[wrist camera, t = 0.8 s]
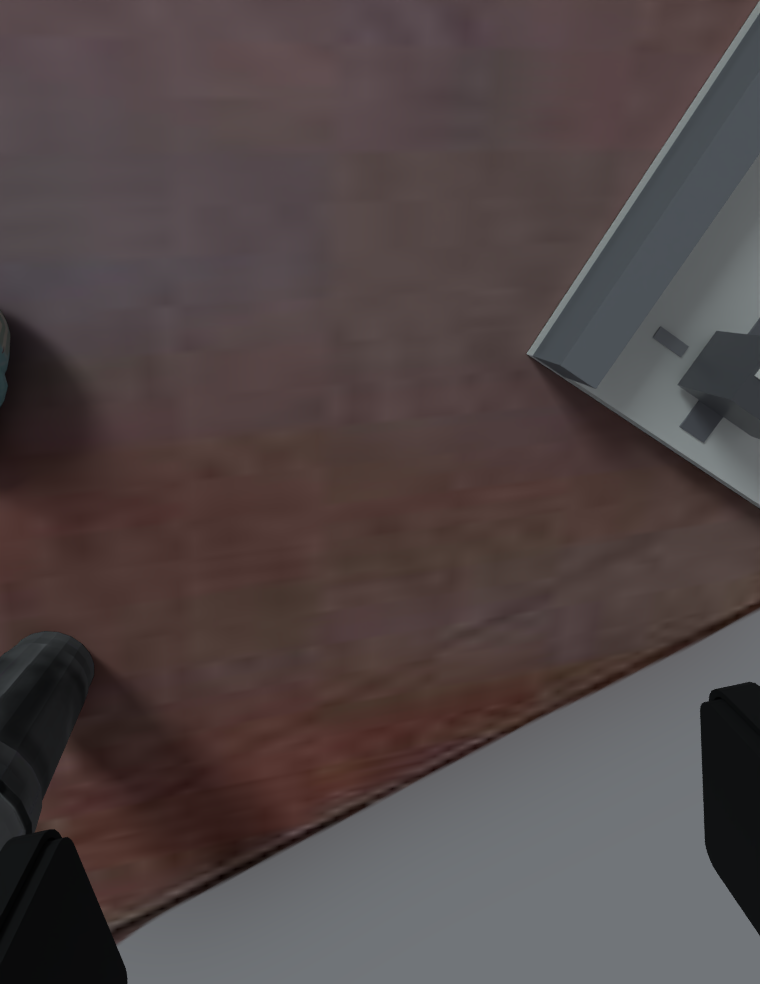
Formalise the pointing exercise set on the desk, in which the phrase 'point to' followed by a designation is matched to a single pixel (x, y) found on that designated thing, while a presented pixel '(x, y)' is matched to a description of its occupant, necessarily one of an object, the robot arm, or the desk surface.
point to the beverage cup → (36, 721)
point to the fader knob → (729, 379)
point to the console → (677, 277)
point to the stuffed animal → (3, 355)
